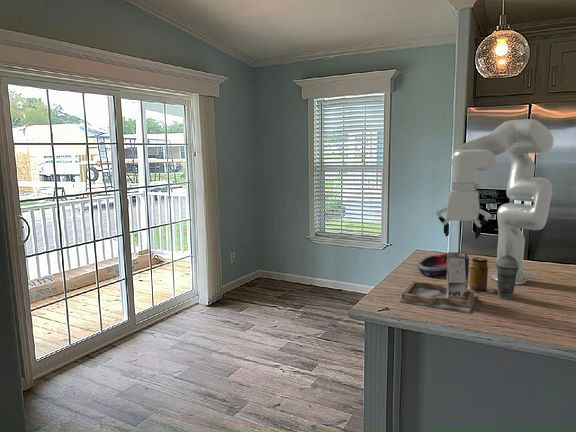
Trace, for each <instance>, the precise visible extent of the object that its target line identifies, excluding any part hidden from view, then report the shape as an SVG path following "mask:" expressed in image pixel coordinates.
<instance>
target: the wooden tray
mask: <svg viewBox="0 0 576 432" xmlns="http://www.w3.org/2000/svg"><path fill="white" fill-rule="evenodd" d="M476 298H477V293H475V291H473V290H469V289H467V299H466V301H465V300H459V299H452V298H447V296H446V286H445V284H441V283H433V282H425V281H418V280H413V281H412V282H411V283H410V284H409V285H408V287H406V288H405V290H404V291H403V292H402V293H401V298H400V299H399V302H400V303H404V304H411V305H417V306H422V307H428V308H433V309H440V310H447V311H453V312H460V313H466V314H470V313H471V310H472V308H473V305H474V303H475V301H476Z"/></svg>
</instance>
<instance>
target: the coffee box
mask: <svg viewBox="0 0 576 432" xmlns="http://www.w3.org/2000/svg"><path fill="white" fill-rule="evenodd" d="M447 253H448V261H447V274H446V286H445V287H446V296H447V298H452V299H459V300H465V301H466V299H467V290H468V289H467V287H468V283H469V282H468V281H469V268H470V267H469V265H470V257H469V255H468V254H467V252H461V251H460V252H458V251H457V252H453V251H448V252H447Z"/></svg>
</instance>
